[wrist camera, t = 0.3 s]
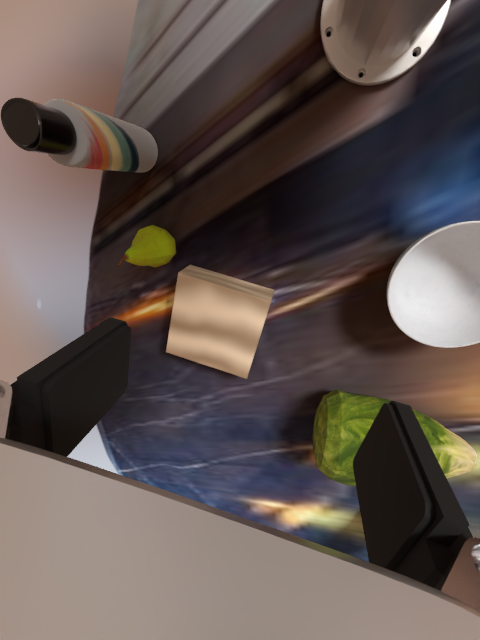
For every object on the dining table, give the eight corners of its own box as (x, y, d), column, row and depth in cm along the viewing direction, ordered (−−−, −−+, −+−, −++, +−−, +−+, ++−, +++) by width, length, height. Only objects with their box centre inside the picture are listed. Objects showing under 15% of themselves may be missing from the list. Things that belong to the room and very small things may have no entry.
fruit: (179, 222, 45) (139, 233, 35) (184, 262, 48) (148, 284, 37) (140, 223, 47) (91, 234, 36) (147, 263, 49) (103, 284, 38)
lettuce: (441, 457, 53) (480, 536, 41) (306, 432, 56) (306, 498, 45) (471, 393, 47) (527, 463, 35) (318, 370, 51) (322, 426, 39)
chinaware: (438, 340, 45) (462, 368, 38) (352, 289, 44) (360, 308, 37) (527, 252, 38) (576, 267, 31) (427, 192, 37) (454, 193, 31)
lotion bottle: (117, 160, 43) (-16, 142, 26) (128, 118, 41) (-11, 65, 23) (151, 180, 44) (43, 175, 26) (164, 139, 41) (54, 103, 23)
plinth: (190, 264, 48) (178, 272, 43) (274, 290, 46) (271, 301, 42) (177, 338, 54) (165, 352, 49) (251, 362, 53) (246, 378, 48)
